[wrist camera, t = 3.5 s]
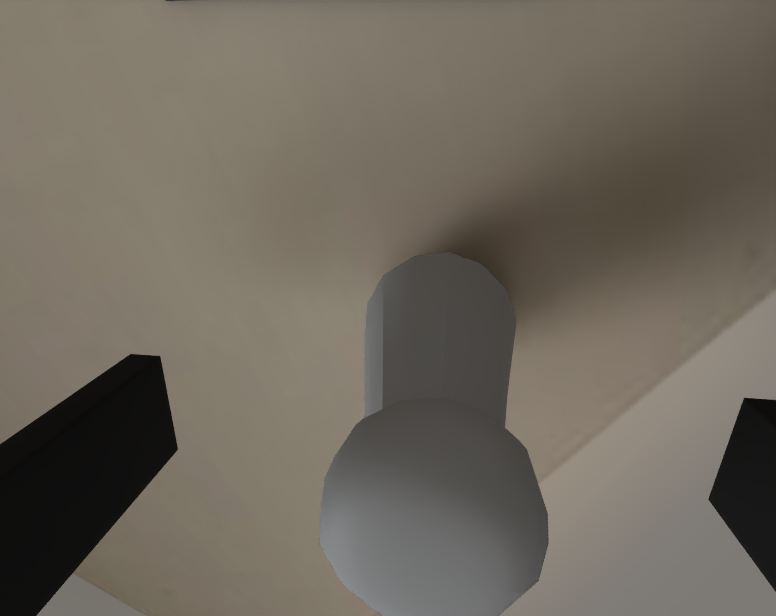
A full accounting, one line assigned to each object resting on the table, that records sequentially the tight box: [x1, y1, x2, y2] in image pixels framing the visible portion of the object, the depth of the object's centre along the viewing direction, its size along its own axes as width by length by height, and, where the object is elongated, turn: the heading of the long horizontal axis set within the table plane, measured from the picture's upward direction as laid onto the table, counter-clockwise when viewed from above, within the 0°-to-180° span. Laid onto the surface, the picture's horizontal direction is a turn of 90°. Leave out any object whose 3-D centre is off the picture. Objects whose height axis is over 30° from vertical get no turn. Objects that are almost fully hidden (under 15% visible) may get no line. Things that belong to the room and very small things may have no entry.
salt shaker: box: [319, 252, 548, 616], centre depth 14 cm, size 6×6×13 cm
